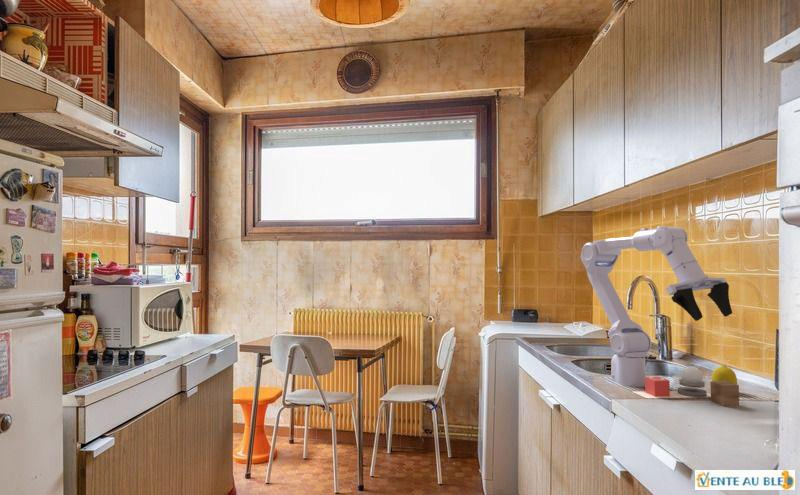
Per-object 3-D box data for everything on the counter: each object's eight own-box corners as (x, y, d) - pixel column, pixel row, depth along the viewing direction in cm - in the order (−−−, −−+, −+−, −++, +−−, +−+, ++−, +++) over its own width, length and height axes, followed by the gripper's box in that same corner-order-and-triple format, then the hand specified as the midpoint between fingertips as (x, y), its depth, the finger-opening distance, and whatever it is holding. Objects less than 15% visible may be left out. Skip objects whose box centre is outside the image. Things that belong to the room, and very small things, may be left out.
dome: (674, 382, 124) (674, 364, 124) (694, 382, 124) (693, 364, 125) (689, 387, 118) (688, 368, 118) (709, 387, 119) (709, 368, 119)
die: (645, 392, 122) (645, 375, 122) (659, 392, 123) (659, 375, 123) (654, 396, 118) (654, 378, 118) (669, 396, 119) (669, 378, 119)
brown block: (711, 406, 114) (710, 381, 114) (726, 405, 114) (725, 381, 114) (723, 411, 110) (722, 385, 110) (739, 410, 110) (738, 385, 110)
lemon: (726, 398, 120) (725, 367, 121) (707, 393, 126) (706, 363, 126) (743, 397, 122) (742, 366, 122) (723, 392, 127) (722, 362, 127)
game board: (631, 395, 123) (631, 387, 123) (699, 394, 125) (699, 386, 125) (673, 414, 107) (672, 405, 107) (750, 412, 108) (750, 404, 108)
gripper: (667, 262, 112) (695, 313, 105) (721, 255, 114) (753, 305, 107) (653, 277, 118) (678, 326, 111) (705, 270, 120) (733, 318, 113)
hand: (713, 316), depth 109 cm, fingers open, 7 cm apart
